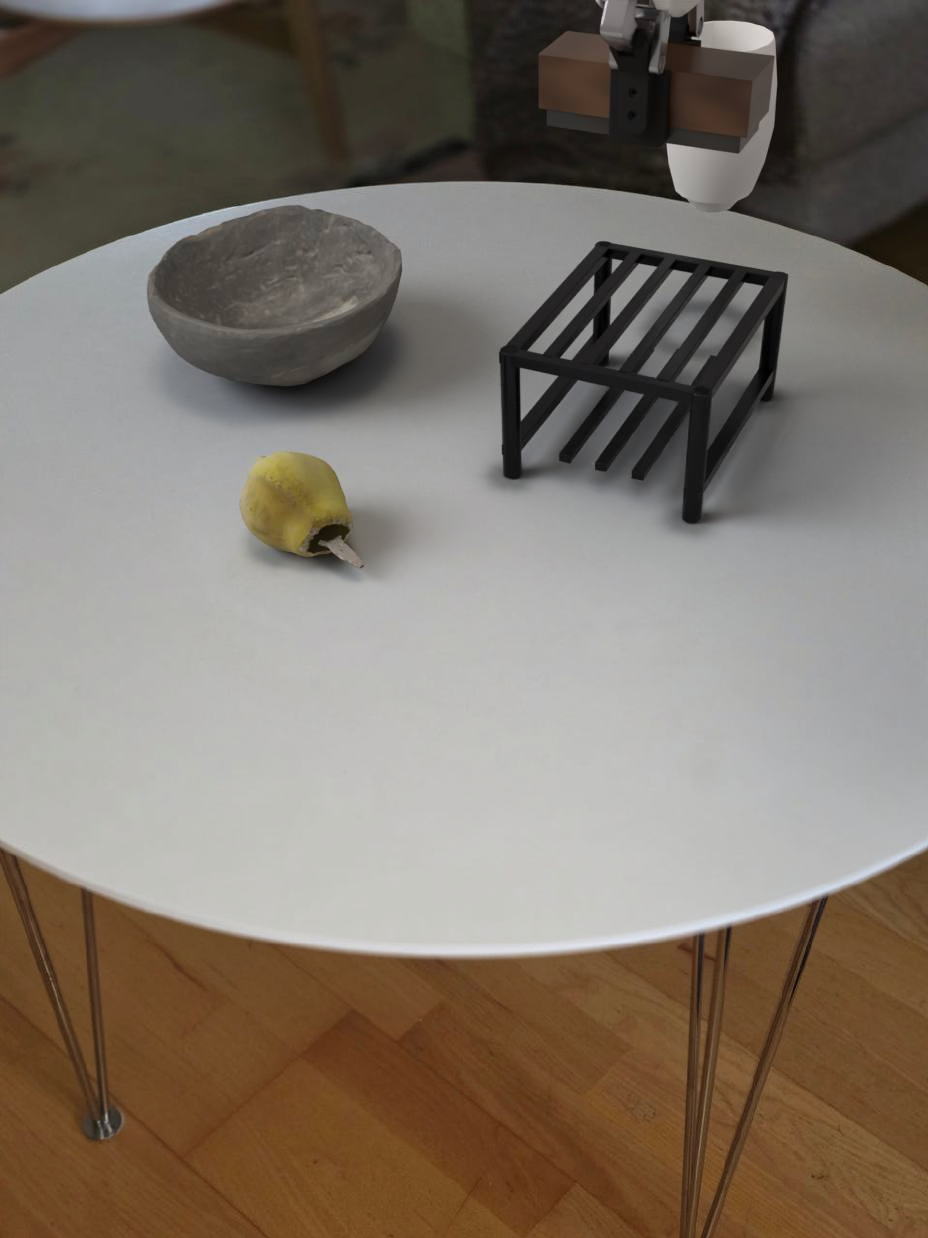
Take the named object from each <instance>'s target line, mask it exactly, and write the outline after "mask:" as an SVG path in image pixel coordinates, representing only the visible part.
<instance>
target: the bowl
mask: <svg viewBox="0 0 928 1238" xmlns="http://www.w3.org/2000/svg"><path fill="white" fill-rule="evenodd" d="M402 274H403V259H402V252H401V248H399V247H398V246H397V245H396V244H395V243H394V242H392V241H390V240H389V239H388V237H387V236H385V235H384V234H382V233H381V232H380V231H378V230H377V229H376V228H374V227H372V226H371V225H369V224H365V223H364V222H362V221H360V220H358V219H355V218H353V217H349V216H346V215H343V214H340V213H339V214H338V213H333V212H329V211H326V210H323V209H321V208H314V209H311V208H309V207H306V206H303V205H300V204H291V205H289V204H288V205H287V204H286V205H280V206H275V207H271V208H265V209H260V210H258V211H254V212H252V213H250V214H247V215H244V216H239V217H235V218H232V219H229V220H226V221H222V222H221V223H220V224H218V225H217V224H216V225H214V226H210V227H207V228H205V229H204V230H202V231H200V232H199V233H198V234H190V235H187V236H184V237H183V238H181V239H179V240H178V241H176V242H175V243H174V244H173V245H172V246H171V247H169V248H168V249H167V250H166V252H164V254H163V255H162V257H161V260H160V261H159V262H158V263H157V264H156V265H154V267H153V268H152V270H151V271H150V272H149V273H148V277H147V284H146V299H147V305H148V306H147V307H148V310H149V313H150V316H151V318H152V320H153V322H154V324H155V325H156V328H157V329H158V330H159V332H160V333H161V335H162V337H163V338H164V340H165V341H166V342H167V344H168V345H169V346H170V348H171V349H172V350H173V351H174V352H175V353H176V355H177V356H178V357H180V358H181V359H183V360H184V361H185V362H187V363H188V364H189V365H192V366H193V367H194V368H196V369H198V370H201V371H203V372H204V373H207V374H211V375H213V376H215V377H218V378H221V379H225V380H228V381H231V382H232V381H233V382H240V383H249V384H255V385H256V384H257V385H265V386H281V387H293V386H294V387H295V386H301V385H306V384H308V383H310V382H312V381H314V380H317V379H318V378H321V377H323V376H325V375H327V374H329V373H331V372H332V371H334V370H337V369H338V368H340V367H342V366H343V365H346V364H347V363H349V362H351V361H353V360H355V359H356V358H358V357H359V356H360V355H362V354H363V353H364V352H365V351H366V350H367V349H368V348H369V347H370V346H371V345H372V343H374V341H375V339H376V338H377V336H378V335H379V333H380V332H381V331H382V329H383V327H384V325H385V324H386V323H387V321H388V318H389V317H390V316H391V312H392V311H393V307H394V304H395V303H396V300H397V296H398V293H399V288H400V283H401V278H402Z"/></svg>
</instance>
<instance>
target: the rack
mask: <svg viewBox="0 0 928 1238" xmlns="http://www.w3.org/2000/svg"><path fill="white" fill-rule="evenodd" d="M613 260H617V261H621V262H620V264H618V266H617V267H616V268H615V269H614V270H613ZM639 265H644V266H649V267H655V269H654V270H653V272H652V273H651V274H650V275H649V277H648V278H647V279H646V280H645V281H644V283H643V284H642V285H641V287H639V289H638V290H637V291H636V292H635V294H634V295H633V296H632V298H631V299H630V300H629V301H628V302H627V304H626V305H625V306H624V307H623V308H622V310H621V311H620V312H619V314H618V315H617V316H616V317H615V318H614V320H613V321H611V311H612V297H613V296H614V294H615V293H616V292H617V291H618V290H619V288H620V287H621V286H622V285H623V284H624V282H625V281H626V280H627V279H628V278H629V276H631V274H632V273H633V272H634V271H635V270H636V268H637V267H638V266H639ZM673 271H677V272H682V273H688V274H691V275H690V276H689V277H688V279H687V280H686V281H685V283H684V284H683V285H682V287H680V289H679V290H678V291H677V293H676V294H675V295H674V297H673V298H672V300H671V301H670V302H669V304H668V305H667V306H666V307H665V309H664V310H663V311H662V313H661V314H660V315H659V316H658V318H657V319H656V320H655V321H654V323H653V324H652V325H651V327H650V328H649V330H648V331H647V332H646V333H645V335H644V336H643V338H642V339H641V340H640V341H639V343H638V344H637V345H636V346H635V348H634V349H633V350H632V351H631V353H630V354H629V355H628V357H627V358H626V360H624V362H623V363H622V364H621V366H620V367H619V368H618V369H616V368H610V367H607V365H609V363H610V351H611V350H612V348H613V347H614V346H615V344H617V342H618V341H619V339H621V337H622V335H623V334H624V333H625V332H626V331H627V330H628V329H629V327H630V326H631V324H632V323H633V322H634V320H635V319H636V318H637V317H638V316H639V314H640V313H641V312H642V311H643V309H644V308H645V306H646V305H647V304H648V303H649V302H650V300H651V299H652V298H653V297H654V295H655V294H656V293H657V291H658V290H659V289H660V288H661V286H662V285H663V284H664V283H665V282H666V280H667V279H668V277H669V276H670V275H671V274H672V273H673ZM709 277H711V278H716V279H722V280H727V281H726V282H725V284H724V285H723V286H722V288H721V289H720V291H719V292H718V293H717V294H716V296H715V297H714V299H713V300H712V302H711V303H710V305H708V307H707V309H706V310H705V312H704V313H703V314H702V315H701V316H700V318H699V320H698V321H697V323H696V324H695V325H694V327H693V328H692V330H691V331H690V332H689V333H688V335H687V337H686V338H685V339H684V340H683V342H682V343H681V345H680V346H679V348H678V347H677V348H676V349H675V351H674V352H673V353H672V355H671V357H669V359H668V361H667V362H666V363H665V365H664V366H663V367H662V369H660V371H659V373H658V374H657V375H656V377H654V376H650V375H649V376H648V375H644V374H639V372H640V371H641V369H643V367H644V366H645V364H646V363H647V362H648V360H649V359H650V358H651V356H652V355H653V353H654V352H655V350H656V347H657V346H658V344H659V343H660V342H661V341H662V339H663V338H664V336H665V335H666V334H667V333H668V331H669V330H670V328H671V327H672V326H673V324H674V323H675V322H676V320H677V319H678V318H679V316H680V315H681V314H682V312H683V311H684V310H685V308H686V307H687V306H688V304H689V303H690V302H691V300H692V299H693V298H694V296H695V295H697V292H698V291H699V289H701V287H702V285H704V283H705V282H706V280H707V279H708V278H709ZM592 278H593V295H592V296H591V297H590V298H589V299H588V300H587V302H586V303H585V304H584V305H583V306H582V307H581V309H580V310H579V311H578V312H577V313H576V315H575V316H574V317H573V318H572V319H571V321H570V322H569V323H568V324H567V325H566V326H565V327H564V328H563V330H562V331H561V332H560V333H559V335H557V337H555V339H554V340H553V341H552V342H551V344H549V346H548V347H547V348H546V349H545V351H544V352H543V353H541V352H535V351H530V348H532V346H534V344H535V343H536V342H537V340H538V339H539V338H540V337H541V336H542V335H543V334H544V333H545V331H546V330H547V329H548V328H549V327H550V325H552V323H554V321H555V320H556V319H557V318H558V317H559V315H560V314H561V313H562V312H563V311H564V310H565V309H566V307H567V306H568V305H569V304H571V302H572V301H573V299H574V298H575V297H576V296H577V295H578V294H579V293H580V292H581V291H582V289H583V288H584V287H585V286H586V285H587V284H588V283H589V281H591V279H592ZM788 283H789V273H786V272H784V271H778V270H776V271H774V270H768V269H763V268H757V267H752V266H745V265H740V264H734V263H729V262H723V261H717V260H711V259H707V258H701V257H694V256H689V255H683V254H678V253H677V254H676V253H672V252H667V251H666V252H665V251H660V250H654V249H648V248H642V247H636V246H631V245H627V244H620V243H615V242H611V241H607V240H600V241H597V242H595V244H594V247H593V248H592V249H591V250H590V251H589V252H588V253H587V255H586V256H585V257H584V258H583V259H581V261H580V262H579V264H577V265H576V267H575V268H574V269H572V271H571V272H570V273H569V274H568V275H567V277H566V278H565V279H564V280H563V281H562V282H561V283H560V284H559V285H558V287H557V288H555V290H554V291H553V292H552V293H551V294H550V295H549V297H548V298H547V299H546V300H545V301H544V302H543V303H542V304H541V305H540V306H539V308H538V309H537V310H535V312H534V313H533V314H532V315H531V316H530V318H529V319H527V321H526V322H525V323H524V324H523V325H522V326H521V327H520V329H519V330H518V331H517V332H516V333H515V334H514V335H513V336H512V337H511V338H510V339H509V341H508V342H507V343H506V344H505V345H503V346H502V347H500V348H499V351H498V363H499V376H500V377H499V378H500V409H501V410H500V411H501V412H500V413H501V456H502V475H503V477H504V478H506V479H509V480H514V479H518V478H520V477H521V476H522V474H523V472H522V471H523V464H522V457H523V456H522V451H523V450H524V449H525V448H526V446H527V445H528V444H529V442H530V441H532V439H533V437H534V436H535V435H536V434H537V433H538V431H539V430H540V429H541V427H542V426H543V425H544V424H545V423H546V421H547V420H548V419H549V417H550V416H551V415H552V414H553V413H554V412H555V410H556V409H557V408H558V406H559V405H560V403H562V401H563V400H564V399H565V398H566V397H567V395H568V393H570V391H571V390H573V388H574V386H575V385H576V384H577V383H578V381H579V382H584V383H588V384H592V385H597V386H602V387H607V390H606V391H605V392H604V393H603V395H602V396H601V398H600V399H599V400H598V402H597V403H596V404H595V405H594V406H593V408H592V409H591V411H590V412H589V413H588V414H587V416H586V417H585V419H584V420H583V421H582V422H581V424H580V425H579V426H578V428H576V430H575V432H574V433H573V434H572V435H571V437H570V438H569V440H568V441H567V442H566V444H564V446H563V448H562V449H561V450H560V451H559V453H558V462H560V463H564V464H570V465H571V464H572V462H573V461H574V460H575V459H576V457H577V456H578V455H579V453H580V452H581V450H582V449H583V448H584V446H585V445H586V443H587V442H588V441H589V439H590V438H591V437H592V435H593V434H594V433H595V432H596V431H597V430H598V427H599V426H600V425H601V423H602V422H603V421H604V420H605V418H606V417H607V415H608V414H609V412H610V411H611V410H612V408H613V407H614V406H615V405H616V403H617V402H618V401H619V400H620V398H621V397H622V395H623V394H624V393H625V391H626V392H630V393H635V394H640V395H642V396H641V398H639V400H638V402H637V403H636V405H635V406H634V407H633V409H632V410H631V411H630V413H629V414H628V416H627V417H626V419H624V421H623V422H622V423H621V425H620V427H619V428H618V429H617V431H616V432H615V434H614V435H613V436H612V438H611V439H610V440H609V442H608V443H607V444H606V446H605V447H604V449H603V450H602V452H601V453H600V455H599V456H598V457H597V458H596V460H595V461H594V470H595V471H599V472H603V473H607V472H608V470H609V469H610V468H611V466H612V465H613V464H614V462H615V461H616V459H617V458H618V457H619V455H620V454H621V452H622V451H623V450H624V448H625V447H626V446H627V444H628V442H629V441H630V439H631V438H632V437H633V435H635V432H636V431H637V430H638V428H640V426H641V424H642V423H643V421H644V420H645V418H646V417H647V416H648V414H649V413H650V411H651V410H652V408H653V407H654V406H655V404H656V403H657V401H658V400H659V399H662V400H667V401H673V402H677V403H676V405H675V406H674V408H673V410H672V411H671V413H670V414H669V415H668V417H667V418H666V420H665V421H664V422H663V425H662V426H661V427H660V429H659V430H658V431H657V433H656V434H655V435H654V437H653V439H652V440H651V441H650V443H649V445H648V446H647V448H646V449H645V450H644V452H643V453H642V455H641V456H640V458H639V459H638V460H637V462H636V463H635V464H634V466H633V468H632V469H631V473H630V474H631V475H630V479H632V480H636V481H638V482H639V481H640V482H644V481H645V479H646V477H648V475H649V473H650V471H651V470H652V468H653V467H654V466H655V464H656V463H657V461H658V460H659V458H660V456H662V454H663V452H664V451H665V449H666V448H667V446H668V445H669V443H670V442H671V441H672V439H673V437H674V436H675V434H676V433H677V431H678V430H679V428H680V427H681V425H682V424H683V423H684V421H685V419H686V417H688V414H689V417H688V429H687V440H686V453H685V465H684V466H685V467H684V480H683V489H682V490H683V492H682V502H681V503H682V504H681V519H682V521H683V522H685V523H687V524H696V523H699V522H700V521H701V520H702V516H703V505H704V504H703V503H704V494H705V492H706V491H707V489H708V487H709V486H710V484H711V482H712V481H713V479H714V478H715V476H716V474H717V473H718V471H719V469H720V467H721V466H722V464H723V463H724V461H725V459H726V458H727V456H728V454H729V453H730V451H731V450H732V447H733V446H734V444H735V443H736V441H737V440H738V438H739V436H740V435H741V432H742V431H743V429H744V428H745V426H746V425H747V424H748V422H749V419H750V418H751V417H752V414H753V413H754V411H755V410H756V407H757V406H758V404H759V403H760V401H762V402H769V401H771V400H773V399H774V395H775V387H776V380H777V372H778V371H777V370H778V363H779V356H780V346H781V340H782V331H783V323H784V314H785V308H786V300H787V299H786V298H787V291H788ZM744 284H749V285H755V286H761V289H760V291H758V294H757V295H756V296H755V298H754V300H753V301H752V303H751V304H750V306H749V307H748V309H746V311H745V313H744V314H743V315H742V317H741V319H740V320H739V322H738V323H737V325H735V328H734V329H733V330H732V332H731V334H730V335H729V336H728V338H727V340H725V342H724V344H723V345H722V347H721V348H720V350H719V351H718V352H717V354H716V355H714V354H710V355H709V357H708V358H707V360H706V361H705V363H704V364H703V365H702V367H701V369H699V371H698V373H697V374H696V376H695V377H694V379H693V381H691V383H690V384H687V383H682V382H677V380H678V378H679V377H680V375H681V374H682V373H683V371H684V369H686V367H687V365H688V364H689V363H690V361H691V360H692V358H693V357H694V356H695V354H696V352H697V351H698V350H699V348H700V346H701V345H702V344H703V342H704V341H705V340H706V338H707V337H708V335H709V334H710V333H711V331H712V330H713V328H714V327H715V326H716V324H717V322H718V321H719V319H720V318H721V317H722V315H723V314H724V313H725V311H726V310H727V308H728V307H729V305H730V304H731V303H732V301H733V299H734V298H735V297H736V295H737V294H738V293H739V291H740V290H741V288H742V287H743V285H744ZM590 323H592V334H591V336H590V337H589V338H588V339H587V341H585V343H584V344H582V347H580V349H579V350H578V351H577V352H576V354H575V355H574V356H573V358H572V359H568V358H564V357H563V355H564V354H565V353H566V352H567V351H568V349H569V348H570V347H571V346H572V345H573V344H574V342H575V341H576V340H577V338H578V337H579V336H580V335H581V334H582V333H583V331H584V330H585V329H586V328H587V326H588V325H589V324H590ZM762 324H763V326H762V333H761V334H762V335H761V344H760V353H759V361H758V369H757V371H756V372H755V373H754V375H753V376H752V378H751V380H750V382H749V383H748V385H747V386H746V388H745V389H744V391H743V393H742V394H741V396H740V398H739V399H738V400H737V402H736V404H735V406H734V407H733V409H732V410H731V411H730V413H729V415H728V417H727V418H726V420H725V421H724V423H723V425H722V426H721V428H720V429H719V431H718V432H717V434H716V436H715V438H714V439H713V441H712V442H711V444H710V445H709V437H710V436H709V435H710V427H711V415H712V405H713V404H712V403H713V399H714V397H715V396H716V394H717V392H718V390H720V388H721V386H722V385H723V383H724V382H725V380H726V379H727V377H728V376H729V374H730V373H731V371H732V369H734V367H735V365H736V364H737V362H738V360H739V359H740V357H741V356H742V354H743V352H744V351H745V350H746V348H747V347H748V345H749V344H750V342H751V340H752V339H753V337H754V336H755V334H756V333H757V331H758V330H759V328H760V327H761V325H762ZM521 369H523V370H529V371H533V372H538V373H542V374H547V375H552V376H557V377H556V378H555V379H554V380H553V382H552V383H551V384H550V385H549V386H548V388H547V389H546V390H545V391H544V392H543V394H542V395H541V396H540V397H539V398H538V400H537V401H536V402H535V403H534V405H532V407H531V408H530V409H529V411H528V412H527V413H526V414H525V416H524V417H523V418H522V406H521V405H522V403H521V401H522V399H521V398H522V397H521Z"/></svg>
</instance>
